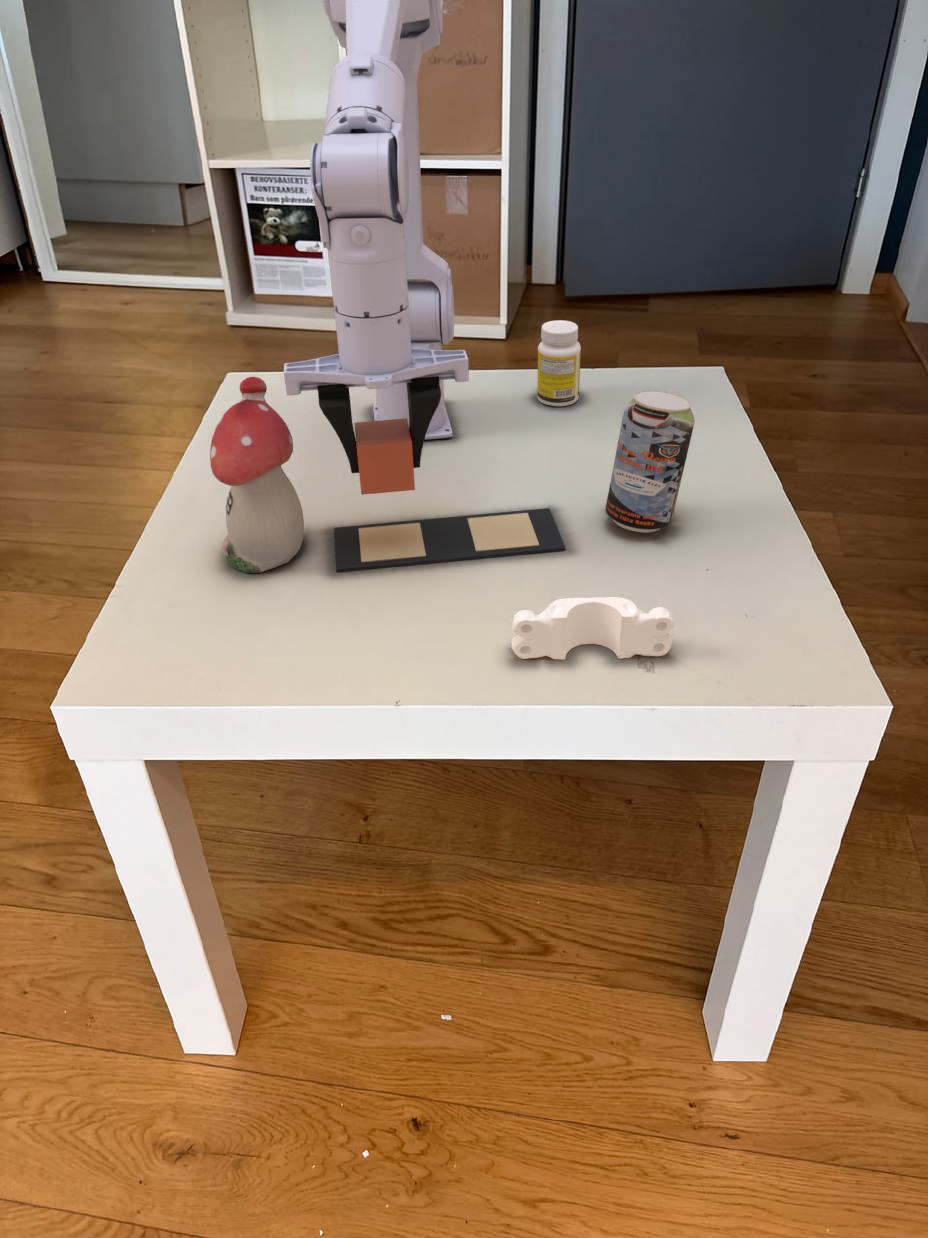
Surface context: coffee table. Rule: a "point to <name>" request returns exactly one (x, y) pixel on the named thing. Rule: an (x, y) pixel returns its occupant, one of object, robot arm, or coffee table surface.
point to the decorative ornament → (256, 483)
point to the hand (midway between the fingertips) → (384, 465)
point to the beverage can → (650, 460)
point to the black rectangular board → (446, 539)
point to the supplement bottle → (559, 363)
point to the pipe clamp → (592, 628)
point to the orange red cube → (384, 456)
